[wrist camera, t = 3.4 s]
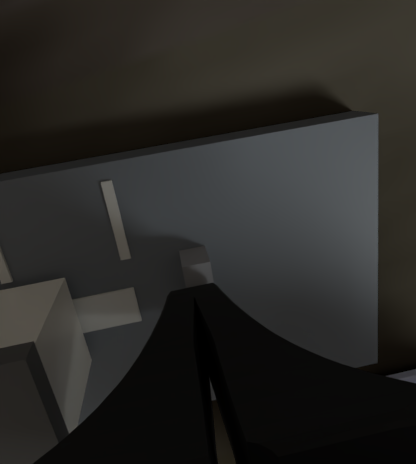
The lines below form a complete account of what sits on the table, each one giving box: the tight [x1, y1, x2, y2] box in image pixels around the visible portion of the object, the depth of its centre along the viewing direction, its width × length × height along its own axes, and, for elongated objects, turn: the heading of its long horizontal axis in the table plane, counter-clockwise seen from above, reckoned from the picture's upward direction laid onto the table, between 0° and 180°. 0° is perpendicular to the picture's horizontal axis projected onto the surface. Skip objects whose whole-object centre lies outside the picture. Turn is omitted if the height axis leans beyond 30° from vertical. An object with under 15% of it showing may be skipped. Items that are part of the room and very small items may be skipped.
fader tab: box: [0, 278, 92, 464], centre depth 10 cm, size 3×3×4 cm
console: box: [0, 111, 378, 426], centre depth 12 cm, size 9×22×3 cm, turn 99°
